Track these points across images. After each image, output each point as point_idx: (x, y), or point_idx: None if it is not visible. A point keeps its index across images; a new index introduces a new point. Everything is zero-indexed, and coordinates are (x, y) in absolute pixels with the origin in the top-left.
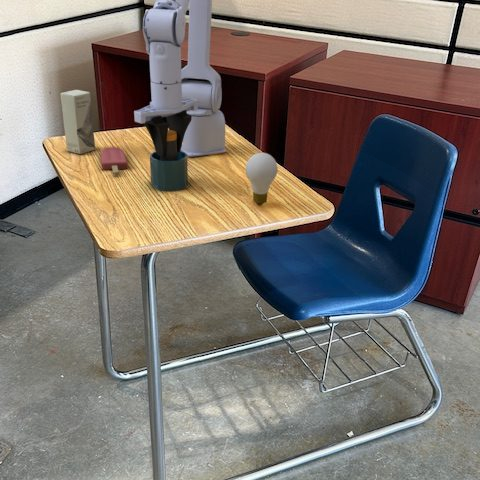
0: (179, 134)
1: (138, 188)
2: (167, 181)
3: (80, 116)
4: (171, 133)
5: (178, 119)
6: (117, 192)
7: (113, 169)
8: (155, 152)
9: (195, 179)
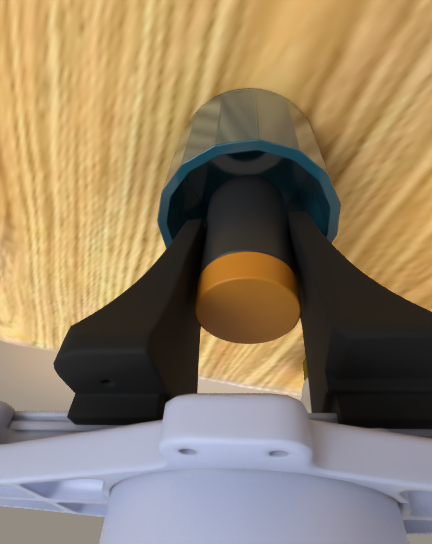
0: (302, 325)
1: (126, 125)
2: None
3: None
4: (251, 332)
5: (315, 404)
6: (38, 110)
7: None
8: (224, 152)
9: (352, 178)
